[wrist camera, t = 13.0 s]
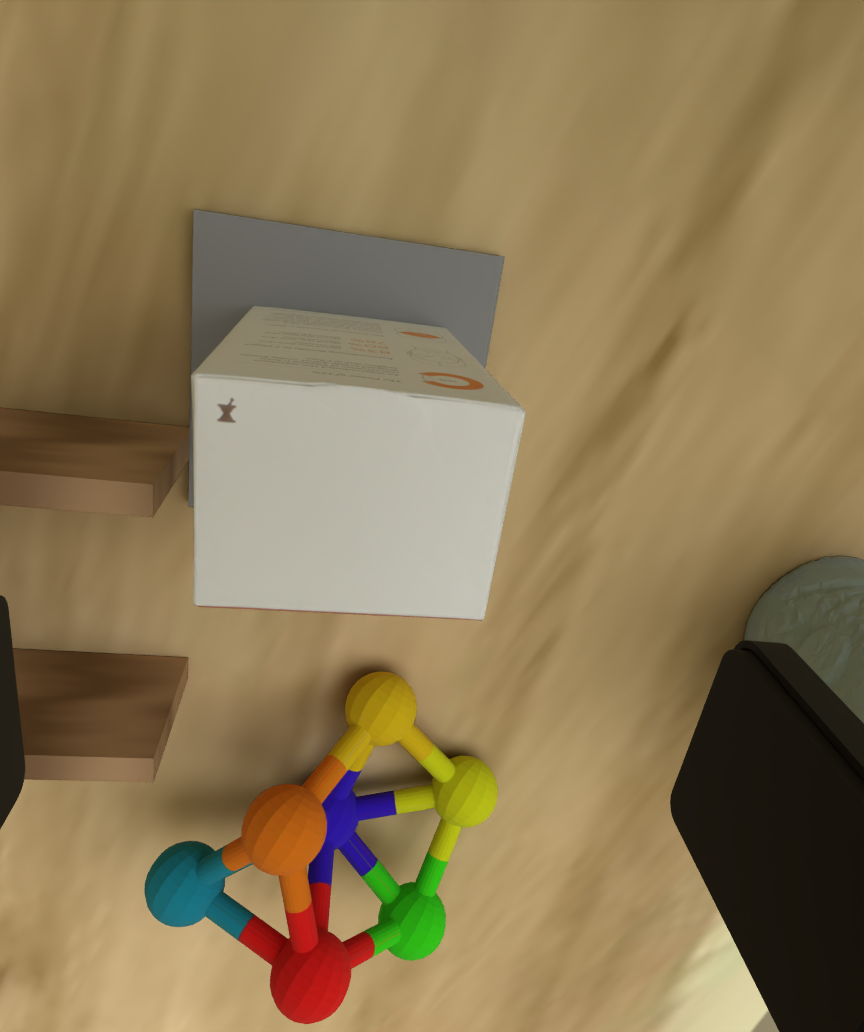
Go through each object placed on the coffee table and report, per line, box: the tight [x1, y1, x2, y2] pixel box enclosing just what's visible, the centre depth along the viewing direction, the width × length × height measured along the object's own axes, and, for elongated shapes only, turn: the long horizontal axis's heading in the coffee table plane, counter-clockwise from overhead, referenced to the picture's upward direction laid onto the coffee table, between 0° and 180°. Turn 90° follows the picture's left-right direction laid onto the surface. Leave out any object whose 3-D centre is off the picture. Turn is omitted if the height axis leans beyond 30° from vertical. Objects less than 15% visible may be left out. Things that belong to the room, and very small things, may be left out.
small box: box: [191, 306, 526, 621], centre depth 24 cm, size 8×6×13 cm
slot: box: [0, 408, 190, 782], centre depth 28 cm, size 10×13×7 cm
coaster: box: [188, 209, 504, 507], centre depth 30 cm, size 12×12×1 cm
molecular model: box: [145, 672, 498, 1024], centre depth 35 cm, size 15×10×15 cm
